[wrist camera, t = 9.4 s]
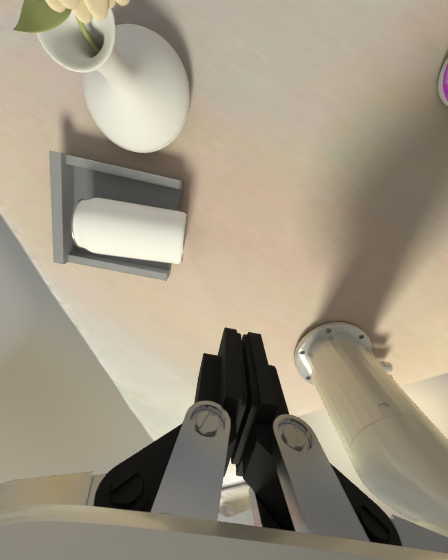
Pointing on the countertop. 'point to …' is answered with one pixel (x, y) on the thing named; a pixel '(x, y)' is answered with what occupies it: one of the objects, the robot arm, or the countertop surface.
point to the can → (129, 230)
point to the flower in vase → (115, 69)
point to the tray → (108, 185)
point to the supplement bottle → (443, 83)
